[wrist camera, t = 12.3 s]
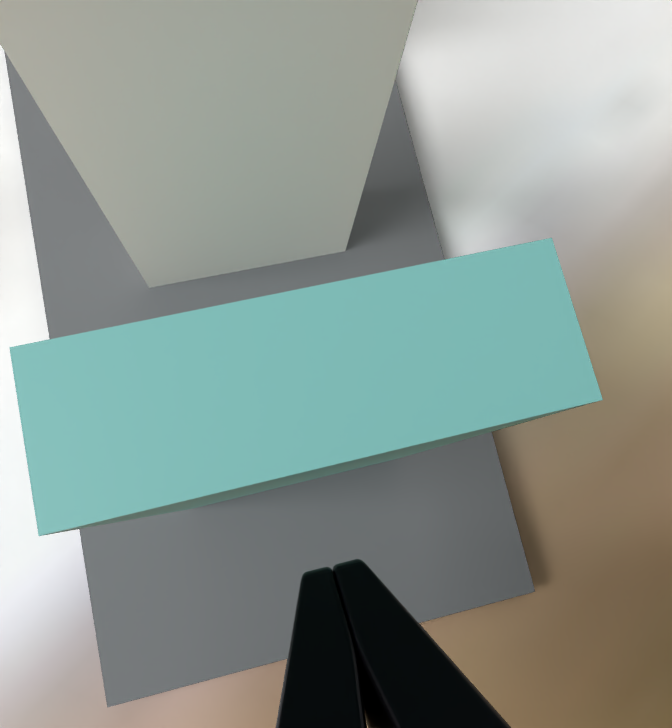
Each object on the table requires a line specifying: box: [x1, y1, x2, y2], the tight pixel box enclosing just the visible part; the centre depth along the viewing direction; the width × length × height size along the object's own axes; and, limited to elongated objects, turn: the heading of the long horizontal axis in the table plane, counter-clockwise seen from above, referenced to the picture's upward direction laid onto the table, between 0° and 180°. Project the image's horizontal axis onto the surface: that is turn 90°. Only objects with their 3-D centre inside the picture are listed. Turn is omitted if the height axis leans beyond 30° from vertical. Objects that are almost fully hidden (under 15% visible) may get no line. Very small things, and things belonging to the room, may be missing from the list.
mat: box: [5, 52, 535, 707], centre depth 18 cm, size 33×10×1 cm, turn 13°
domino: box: [0, 0, 418, 288], centre depth 11 cm, size 2×5×10 cm, turn 103°
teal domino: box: [10, 238, 603, 536], centre depth 11 cm, size 2×5×10 cm, turn 103°
